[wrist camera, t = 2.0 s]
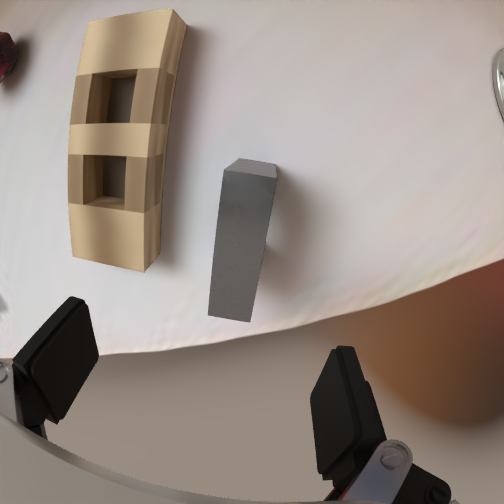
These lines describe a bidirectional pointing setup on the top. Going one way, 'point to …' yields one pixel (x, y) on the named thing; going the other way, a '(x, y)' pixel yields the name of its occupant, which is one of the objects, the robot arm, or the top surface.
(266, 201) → the gray pronged block
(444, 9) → the top surface
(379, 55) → the top surface
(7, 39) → the fruit
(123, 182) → the wooden block with holes
